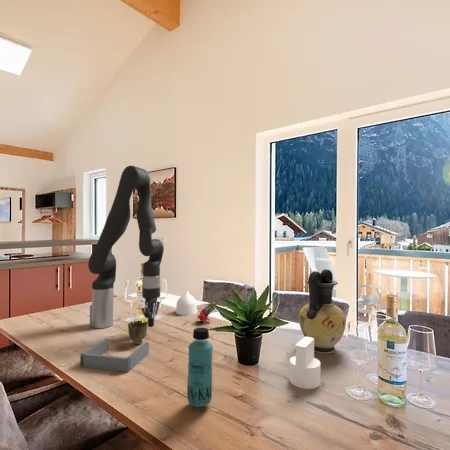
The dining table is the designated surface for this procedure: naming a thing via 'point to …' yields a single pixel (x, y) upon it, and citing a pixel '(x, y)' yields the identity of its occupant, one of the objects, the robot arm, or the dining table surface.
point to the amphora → (322, 313)
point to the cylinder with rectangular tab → (305, 365)
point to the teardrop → (186, 305)
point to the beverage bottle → (200, 369)
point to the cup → (137, 331)
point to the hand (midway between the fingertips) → (150, 326)
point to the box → (111, 358)
